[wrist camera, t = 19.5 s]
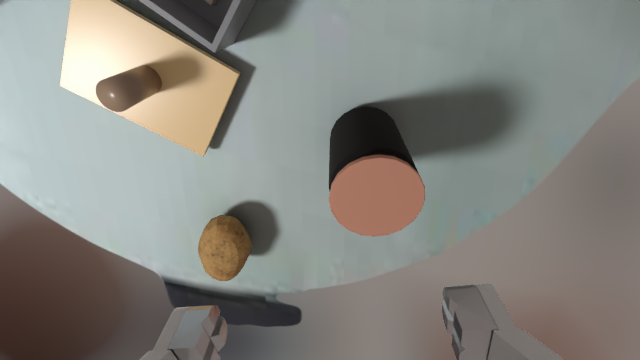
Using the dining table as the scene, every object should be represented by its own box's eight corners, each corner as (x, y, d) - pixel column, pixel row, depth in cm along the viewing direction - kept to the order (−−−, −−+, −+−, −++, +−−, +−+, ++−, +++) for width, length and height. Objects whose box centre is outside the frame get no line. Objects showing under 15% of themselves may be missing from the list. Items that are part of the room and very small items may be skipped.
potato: (259, 207, 58) (249, 236, 51) (252, 260, 65) (242, 291, 58) (207, 197, 57) (190, 225, 50) (205, 251, 64) (190, 282, 57)
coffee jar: (322, 156, 52) (317, 224, 36) (341, 95, 46) (346, 145, 31) (381, 172, 53) (401, 245, 37) (407, 115, 47) (443, 172, 32)
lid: (88, -20, 40) (16, -24, 31) (243, 70, 45) (220, 89, 36) (73, 81, 47) (10, 101, 38) (209, 149, 52) (182, 182, 43)
